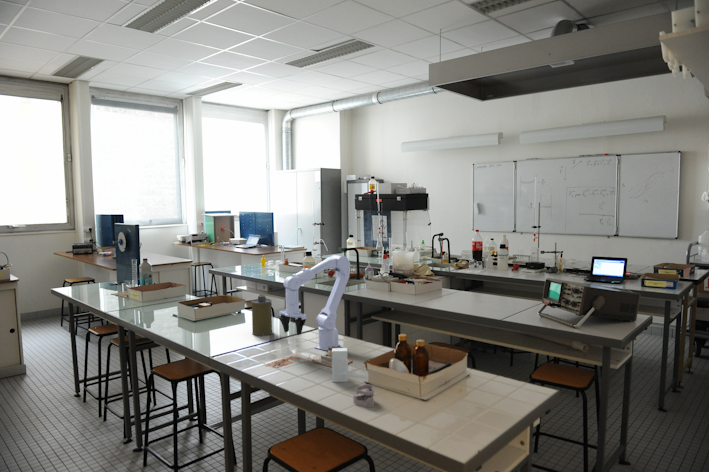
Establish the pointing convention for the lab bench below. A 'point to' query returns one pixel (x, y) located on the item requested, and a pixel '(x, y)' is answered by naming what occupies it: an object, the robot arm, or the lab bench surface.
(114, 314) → the lab bench surface
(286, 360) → the bark
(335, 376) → the skincare box
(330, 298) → the robot arm
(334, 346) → the wood peg
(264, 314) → the canister
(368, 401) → the dental mold
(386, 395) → the lab bench surface
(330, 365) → the holder board
